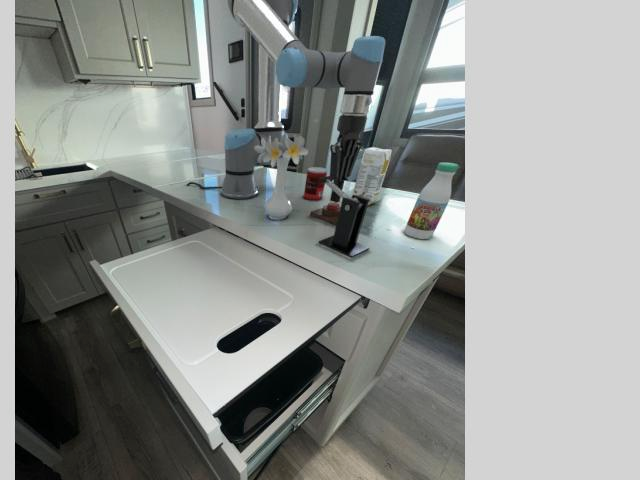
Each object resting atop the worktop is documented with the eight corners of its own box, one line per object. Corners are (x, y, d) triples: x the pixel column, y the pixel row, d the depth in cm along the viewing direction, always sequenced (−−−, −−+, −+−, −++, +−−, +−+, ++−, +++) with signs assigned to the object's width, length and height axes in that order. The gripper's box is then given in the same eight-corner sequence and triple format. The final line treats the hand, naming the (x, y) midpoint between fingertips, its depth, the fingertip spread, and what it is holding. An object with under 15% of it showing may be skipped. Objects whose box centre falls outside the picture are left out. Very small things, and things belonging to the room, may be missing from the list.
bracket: (318, 245, 76) (328, 195, 68) (335, 238, 80) (347, 190, 72) (351, 260, 69) (367, 207, 61) (368, 251, 73) (385, 201, 65)
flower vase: (264, 206, 102) (269, 129, 87) (307, 218, 93) (321, 134, 77) (243, 215, 94) (244, 133, 79) (287, 229, 85) (298, 138, 69)
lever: (315, 183, 71) (319, 175, 69) (327, 180, 74) (332, 172, 72) (349, 214, 67) (355, 207, 65) (361, 210, 69) (366, 203, 67)
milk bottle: (402, 228, 87) (430, 160, 74) (429, 231, 84) (462, 162, 72) (404, 237, 81) (435, 165, 69) (433, 241, 79) (470, 168, 66)
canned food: (320, 195, 114) (325, 167, 107) (323, 201, 108) (329, 171, 101) (302, 194, 115) (306, 166, 108) (304, 200, 108) (308, 171, 102)
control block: (309, 217, 93) (311, 206, 91) (325, 212, 98) (328, 201, 95) (335, 227, 86) (338, 215, 84) (351, 221, 91) (354, 209, 88)
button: (324, 208, 90) (326, 203, 89) (331, 206, 92) (332, 201, 91) (333, 211, 88) (334, 206, 87) (340, 209, 90) (341, 204, 88)
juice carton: (368, 207, 102) (384, 151, 91) (348, 201, 108) (362, 148, 96) (377, 203, 106) (395, 149, 95) (358, 198, 111) (373, 146, 100)
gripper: (351, 116, 68) (331, 208, 83) (379, 114, 74) (356, 200, 89) (327, 114, 73) (312, 201, 87) (355, 113, 79) (337, 195, 94)
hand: (334, 201), depth 88 cm, fingers closed
